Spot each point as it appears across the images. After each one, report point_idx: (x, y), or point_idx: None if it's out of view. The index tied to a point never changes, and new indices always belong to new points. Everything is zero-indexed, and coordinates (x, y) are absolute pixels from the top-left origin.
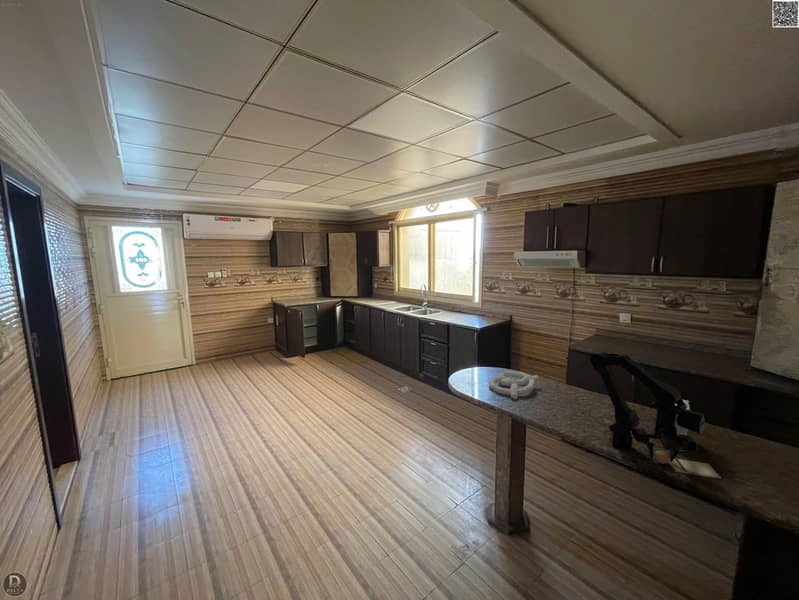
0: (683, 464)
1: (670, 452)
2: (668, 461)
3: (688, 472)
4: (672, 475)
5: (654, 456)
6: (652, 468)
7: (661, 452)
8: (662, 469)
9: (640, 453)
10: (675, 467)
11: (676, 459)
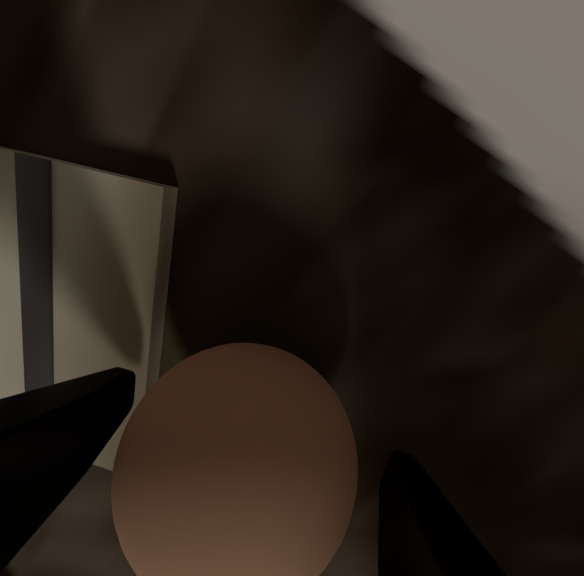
0: (2, 334)
1: (2, 541)
2: None
3: (9, 150)
4: (290, 65)
5: (356, 481)
6: (519, 242)
7: (211, 566)
8: (352, 228)
9: None
10: (134, 259)
11: None
